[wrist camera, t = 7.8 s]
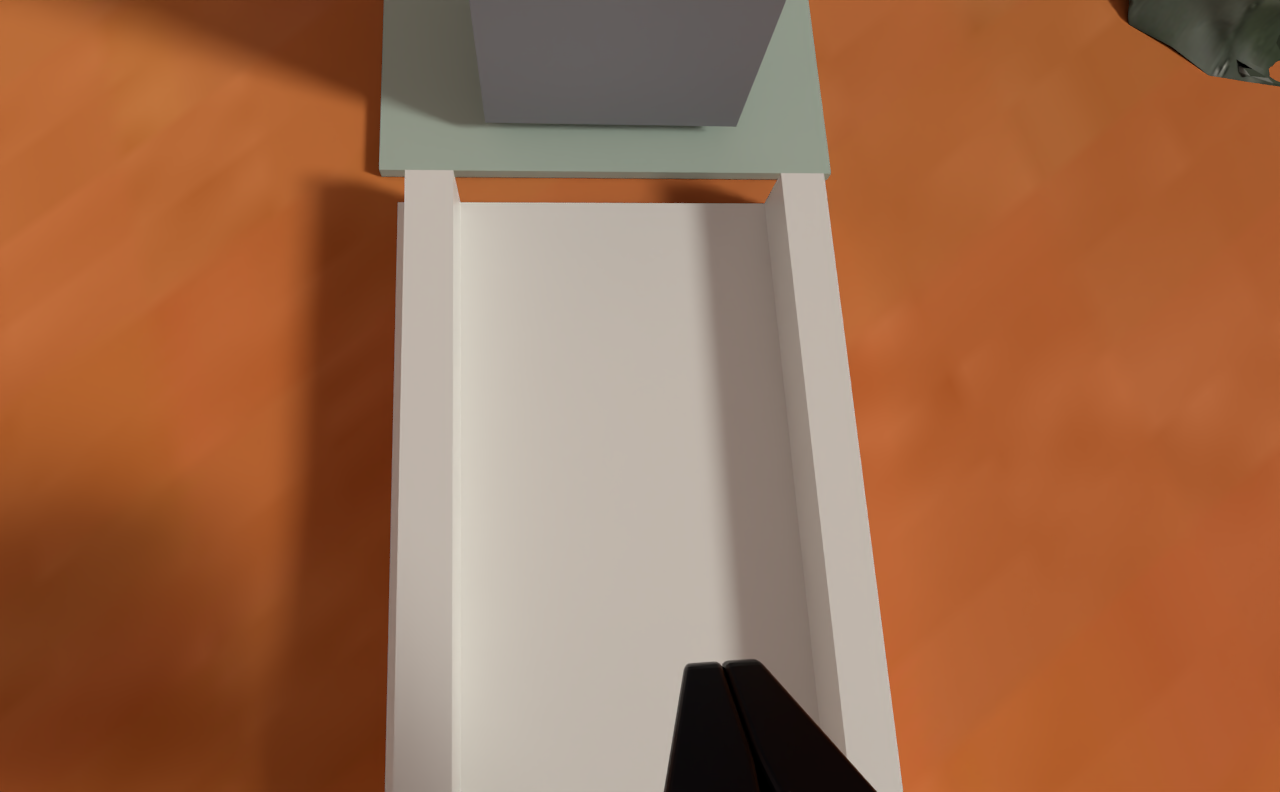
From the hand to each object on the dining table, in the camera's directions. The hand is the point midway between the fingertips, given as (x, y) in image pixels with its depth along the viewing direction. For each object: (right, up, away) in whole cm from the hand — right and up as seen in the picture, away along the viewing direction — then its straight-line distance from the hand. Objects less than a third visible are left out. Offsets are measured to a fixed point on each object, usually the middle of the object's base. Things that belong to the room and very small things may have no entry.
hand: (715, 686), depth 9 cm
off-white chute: (-1, 0, +8) cm, 8 cm away
